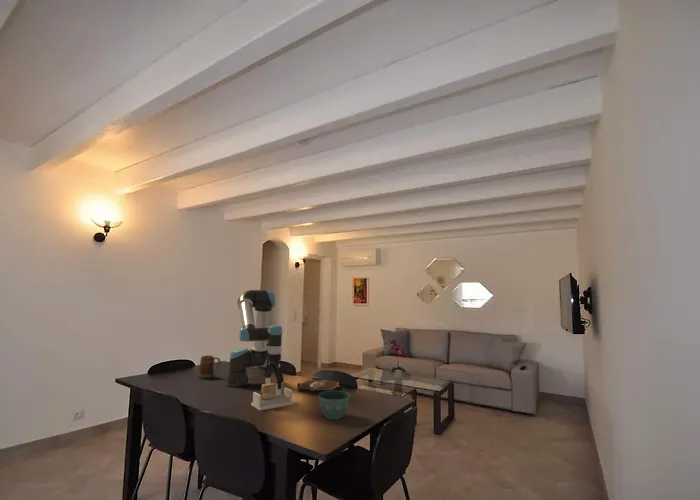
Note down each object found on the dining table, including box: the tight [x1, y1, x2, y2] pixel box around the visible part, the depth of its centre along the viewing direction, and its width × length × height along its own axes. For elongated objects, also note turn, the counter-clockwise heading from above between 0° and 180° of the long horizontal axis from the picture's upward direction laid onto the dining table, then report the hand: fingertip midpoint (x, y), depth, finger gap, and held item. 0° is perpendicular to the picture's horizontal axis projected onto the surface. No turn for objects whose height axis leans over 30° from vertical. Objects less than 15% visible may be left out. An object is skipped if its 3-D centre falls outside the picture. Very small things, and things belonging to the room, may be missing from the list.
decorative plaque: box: [296, 379, 343, 396], centre depth 244 cm, size 30×3×30 cm
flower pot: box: [318, 390, 351, 421], centre depth 190 cm, size 16×16×11 cm
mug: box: [197, 355, 221, 380], centre depth 271 cm, size 16×11×15 cm
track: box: [250, 386, 295, 411], centre depth 208 cm, size 12×20×7 cm, turn 127°
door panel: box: [260, 382, 285, 401], centre depth 209 cm, size 4×12×10 cm, turn 127°
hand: (272, 392), depth 209 cm, fingers open, 13 cm apart
